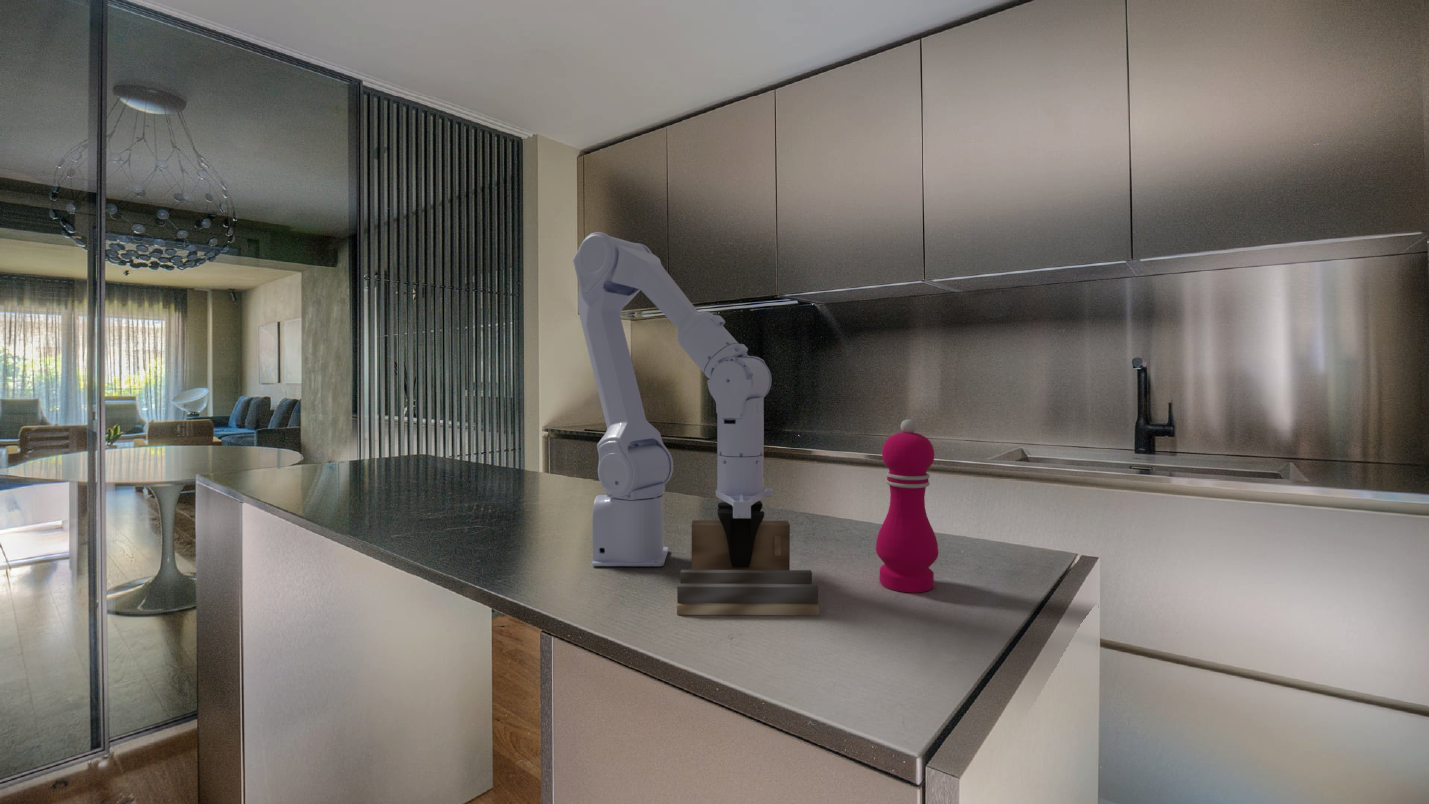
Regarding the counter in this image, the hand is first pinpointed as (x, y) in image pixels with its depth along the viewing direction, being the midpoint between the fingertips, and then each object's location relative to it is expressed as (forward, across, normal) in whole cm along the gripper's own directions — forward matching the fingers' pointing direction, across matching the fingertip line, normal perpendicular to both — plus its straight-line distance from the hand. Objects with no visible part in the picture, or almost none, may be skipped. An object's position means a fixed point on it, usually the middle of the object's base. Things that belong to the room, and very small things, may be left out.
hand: (740, 563), depth 79 cm
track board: (+2, -8, 0) cm, 9 cm away
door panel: (+2, 0, 0) cm, 2 cm away
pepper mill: (+2, -2, -20) cm, 20 cm away
